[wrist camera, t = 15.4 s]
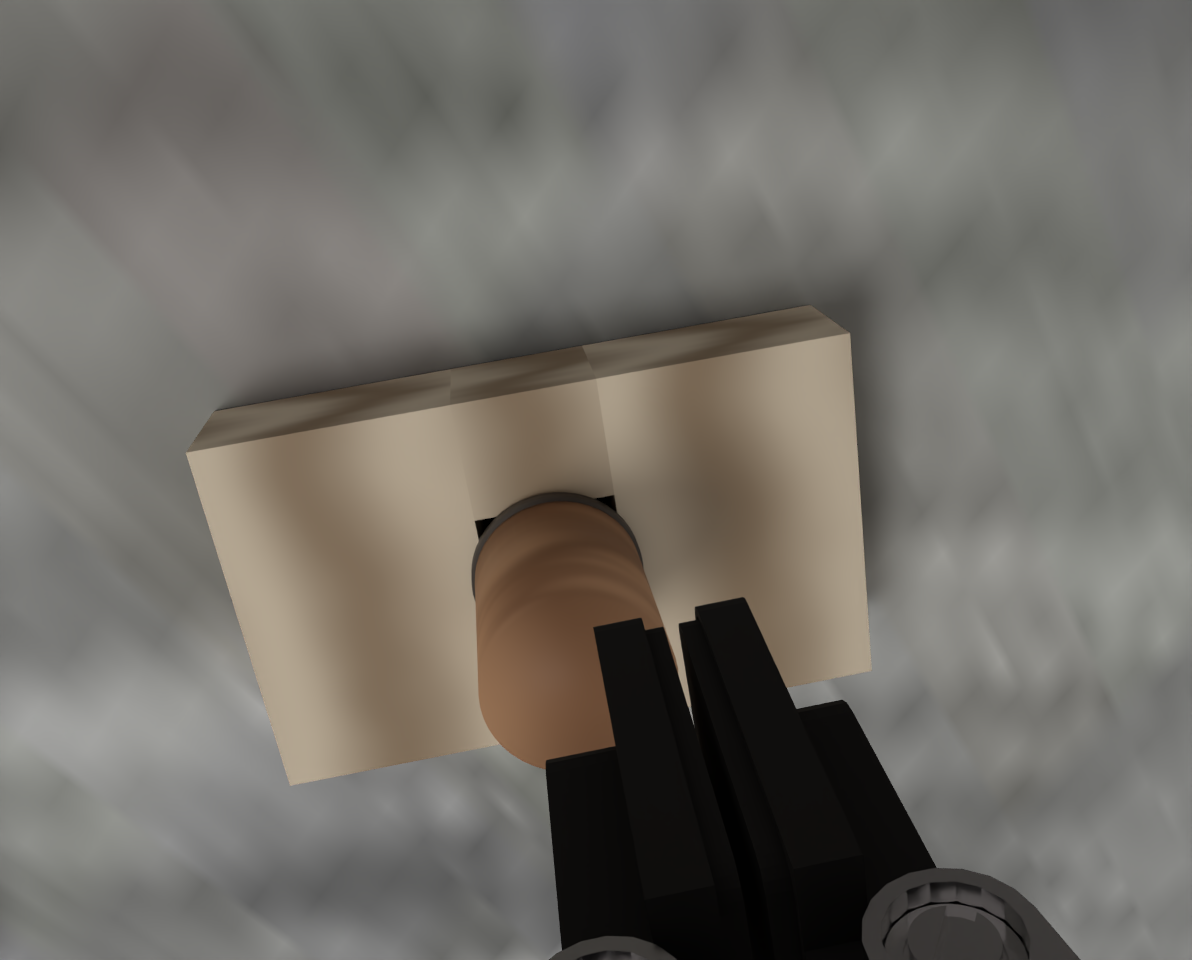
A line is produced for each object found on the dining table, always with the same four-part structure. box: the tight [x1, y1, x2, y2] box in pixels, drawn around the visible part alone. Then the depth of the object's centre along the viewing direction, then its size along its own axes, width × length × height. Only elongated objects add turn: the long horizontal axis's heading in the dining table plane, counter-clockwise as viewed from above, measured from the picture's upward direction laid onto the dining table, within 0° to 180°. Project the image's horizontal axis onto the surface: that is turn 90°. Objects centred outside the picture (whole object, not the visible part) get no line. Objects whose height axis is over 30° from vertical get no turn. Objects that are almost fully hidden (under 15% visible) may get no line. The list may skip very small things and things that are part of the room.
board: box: [186, 305, 872, 786], centre depth 37 cm, size 20×12×4 cm, turn 98°
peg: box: [471, 492, 678, 769], centre depth 33 cm, size 5×5×11 cm
